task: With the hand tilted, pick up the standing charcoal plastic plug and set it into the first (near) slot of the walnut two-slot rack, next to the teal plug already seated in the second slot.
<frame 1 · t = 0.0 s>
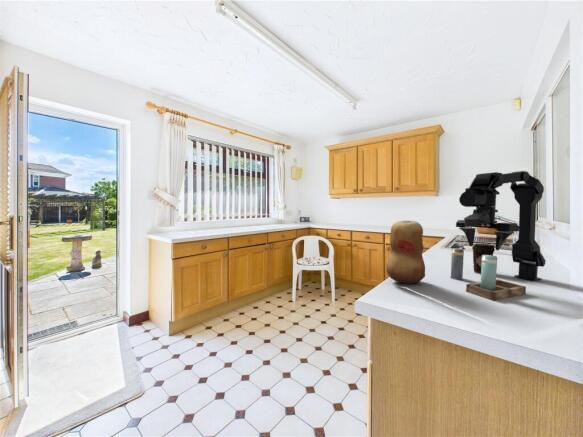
hand: (483, 248, 93), 15 cm above the countertop, tool pointing down, fingers open, 9 cm apart
butternut squash: (404, 284, 97), on the countertop
plug teal: (487, 294, 83), point 1 cm above the countertop, touching slot rack
slot rack: (495, 295, 85), on the countertop
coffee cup: (482, 273, 112), on the countertop
plug charcoal: (456, 280, 101), on the countertop
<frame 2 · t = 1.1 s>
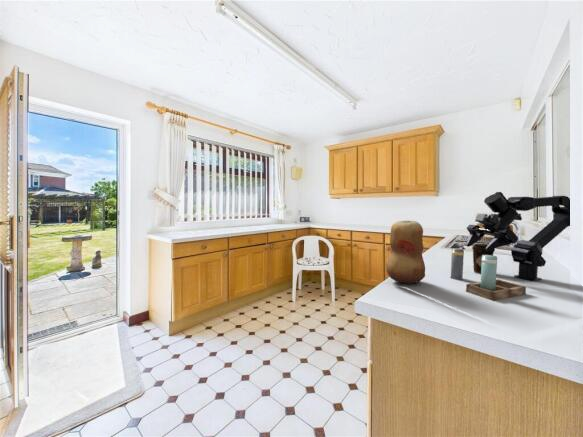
hand: (476, 248, 100), 13 cm above the countertop, tool tilted 45°, fingers open, 9 cm apart
nothing on the countertop moved.
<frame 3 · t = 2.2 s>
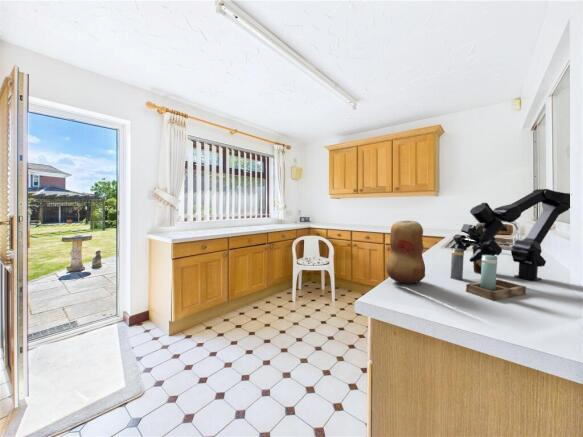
hand: (461, 258, 100), 9 cm above the countertop, tool tilted 45°, fingers open, 9 cm apart
nothing on the countertop moved.
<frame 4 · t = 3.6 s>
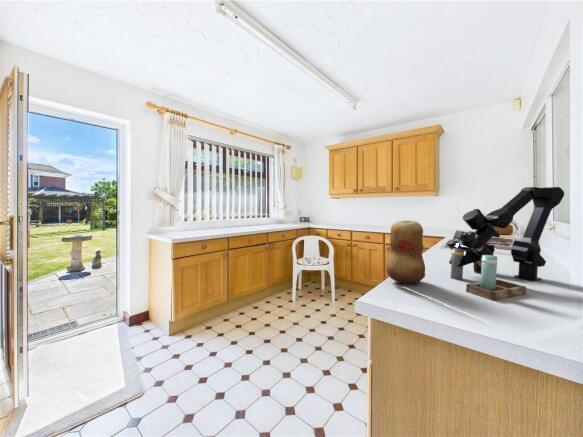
hand: (453, 264, 100), 7 cm above the countertop, tool tilted 45°, fingers closed on plug charcoal, 4 cm apart
plug charcoal: (456, 280, 101), on the countertop, touching gripper
everything else where it was.
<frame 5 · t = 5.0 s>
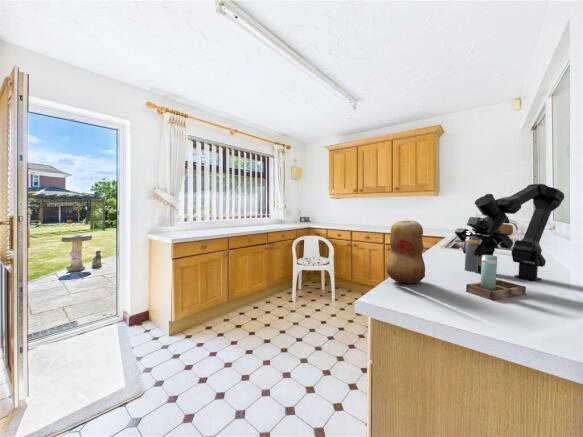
hand: (469, 253, 94), 12 cm above the countertop, tool tilted 45°, fingers closed on plug charcoal, 4 cm apart
plug charcoal: (471, 270, 94), point 6 cm above the countertop, touching gripper
everything else where it was.
when the fingers open (9 cm above the countertop, at t = 6.5 s): plug charcoal drops 1 cm, resting on slot rack.
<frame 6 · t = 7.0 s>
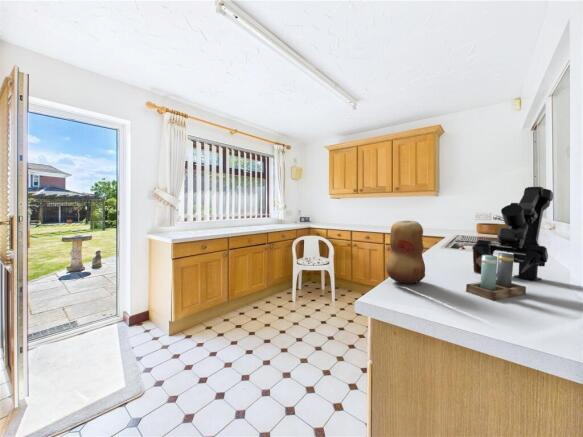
hand: (502, 269, 85), 9 cm above the countertop, tool tilted 45°, fingers open, 9 cm apart
plug charcoal: (503, 290, 86), point 1 cm above the countertop, touching slot rack
everything else where it was.
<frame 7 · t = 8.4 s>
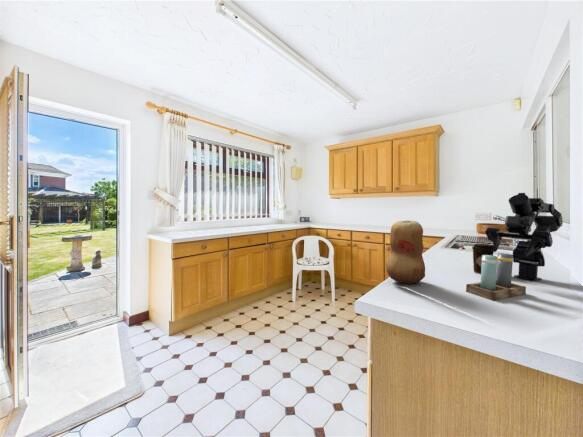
hand: (509, 253, 92), 13 cm above the countertop, tool tilted 45°, fingers open, 9 cm apart
nothing on the countertop moved.
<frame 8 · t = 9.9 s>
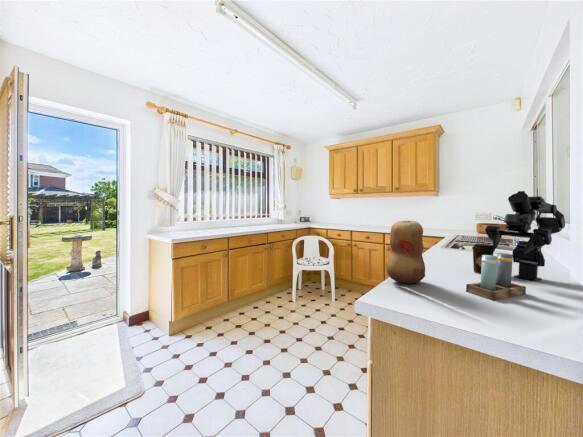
hand: (508, 251, 93), 14 cm above the countertop, tool tilted 45°, fingers open, 9 cm apart
nothing on the countertop moved.
at the end: plug charcoal 0.0 cm from the target spot, point 1.0 cm above the countertop; plug charcoal tilted 0°; the gripper is holding nothing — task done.
